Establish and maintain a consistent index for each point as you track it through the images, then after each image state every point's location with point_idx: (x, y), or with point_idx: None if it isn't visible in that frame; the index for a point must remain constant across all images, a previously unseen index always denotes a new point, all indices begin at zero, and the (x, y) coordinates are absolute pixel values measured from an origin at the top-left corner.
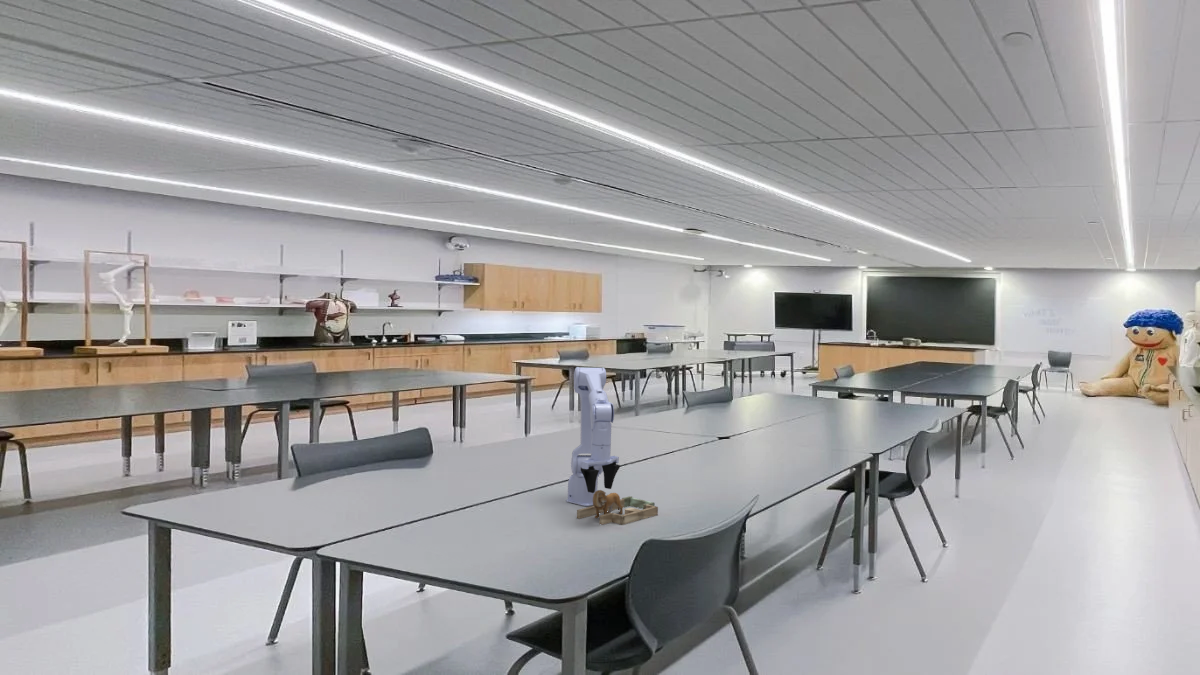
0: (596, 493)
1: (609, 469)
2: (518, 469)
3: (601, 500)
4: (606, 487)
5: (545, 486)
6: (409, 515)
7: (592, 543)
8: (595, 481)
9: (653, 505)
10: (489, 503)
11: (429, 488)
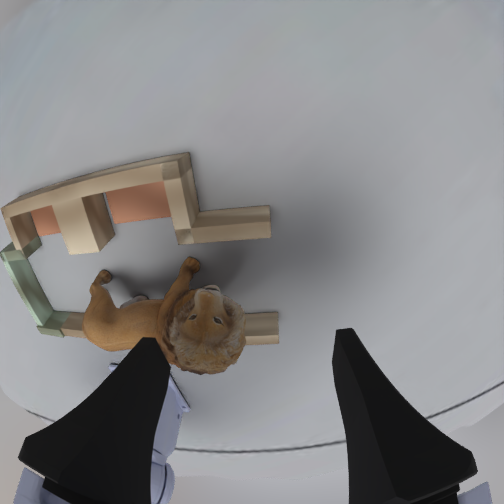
0: (233, 356)
1: (115, 470)
2: None
3: (222, 307)
4: (164, 362)
5: None
6: (451, 416)
7: (472, 66)
8: (370, 398)
9: (6, 248)
10: (329, 440)
11: (321, 473)
